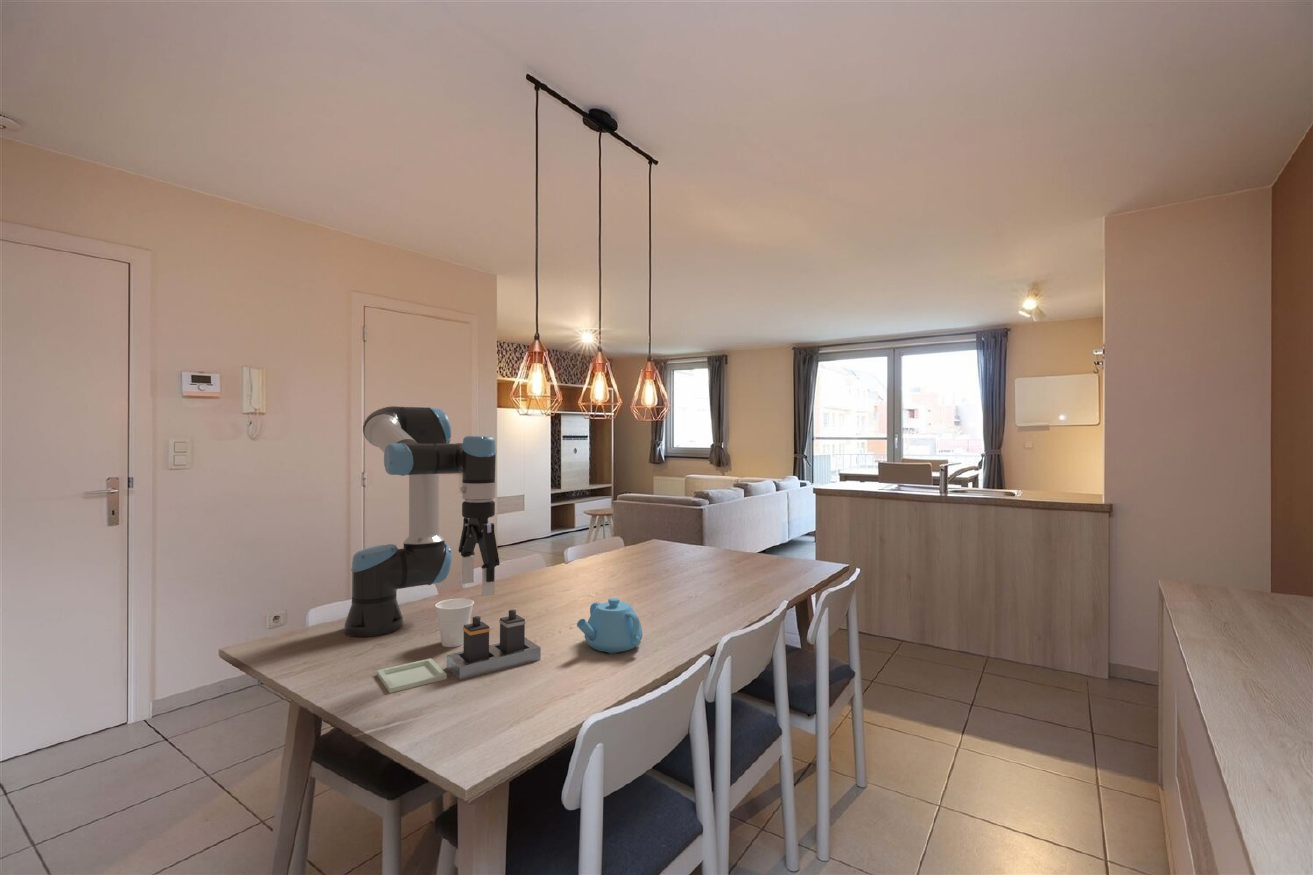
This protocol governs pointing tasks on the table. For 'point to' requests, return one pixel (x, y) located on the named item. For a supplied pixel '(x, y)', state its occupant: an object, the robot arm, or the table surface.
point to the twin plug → (512, 633)
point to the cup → (453, 620)
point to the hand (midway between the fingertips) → (477, 589)
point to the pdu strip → (492, 660)
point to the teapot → (612, 627)
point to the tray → (411, 675)
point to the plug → (476, 640)
